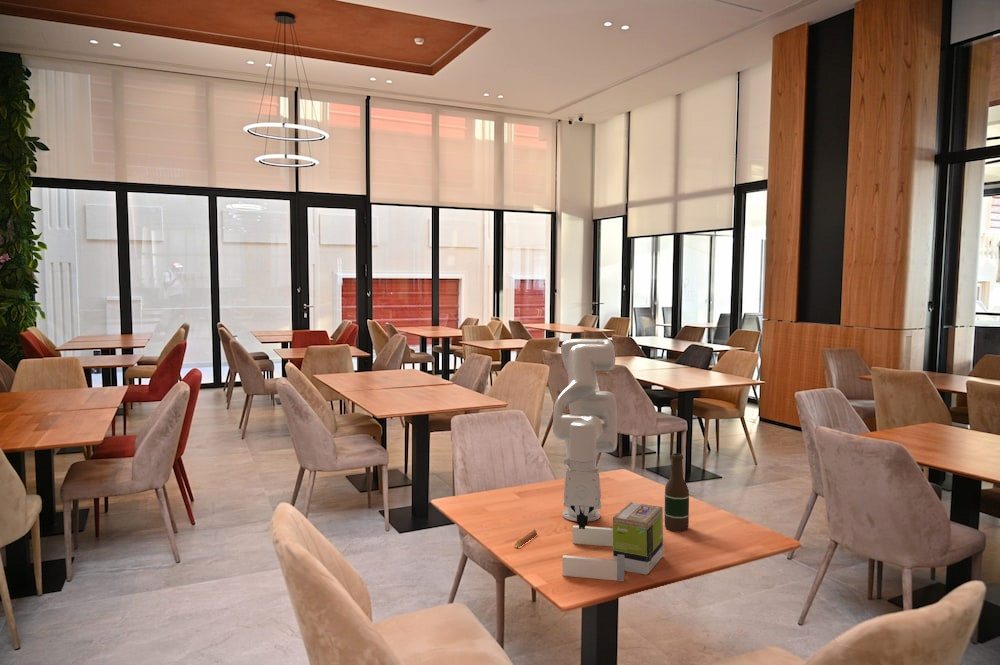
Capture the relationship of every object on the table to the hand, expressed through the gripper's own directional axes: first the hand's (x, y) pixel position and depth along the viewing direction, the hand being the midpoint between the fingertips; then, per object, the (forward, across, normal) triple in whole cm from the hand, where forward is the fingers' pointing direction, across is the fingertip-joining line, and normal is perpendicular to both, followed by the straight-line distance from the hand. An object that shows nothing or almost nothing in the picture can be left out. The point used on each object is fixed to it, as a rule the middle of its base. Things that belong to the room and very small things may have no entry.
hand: (582, 527), depth 191 cm
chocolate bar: (+10, -18, +8) cm, 22 cm away
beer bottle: (+10, +27, +30) cm, 41 cm away
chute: (+9, +4, -1) cm, 10 cm away
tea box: (+9, +16, -1) cm, 18 cm away
